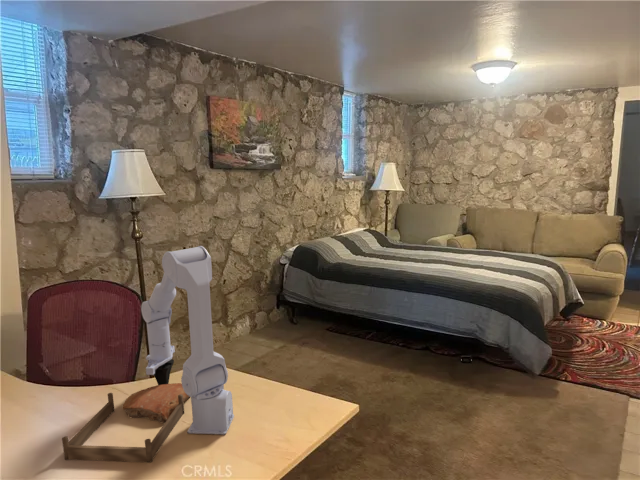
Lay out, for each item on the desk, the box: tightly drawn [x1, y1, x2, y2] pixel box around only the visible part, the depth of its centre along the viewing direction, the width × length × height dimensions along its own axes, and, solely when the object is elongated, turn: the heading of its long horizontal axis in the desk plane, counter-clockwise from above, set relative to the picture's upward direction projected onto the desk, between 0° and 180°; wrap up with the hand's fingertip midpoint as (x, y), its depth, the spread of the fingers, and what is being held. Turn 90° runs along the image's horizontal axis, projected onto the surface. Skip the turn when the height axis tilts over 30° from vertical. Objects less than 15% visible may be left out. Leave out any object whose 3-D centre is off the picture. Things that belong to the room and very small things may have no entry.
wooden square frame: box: [61, 392, 185, 464], centre depth 110 cm, size 20×20×5 cm
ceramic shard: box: [122, 382, 191, 424], centre depth 122 cm, size 15×6×15 cm
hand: (163, 386), depth 130 cm, fingers closed
